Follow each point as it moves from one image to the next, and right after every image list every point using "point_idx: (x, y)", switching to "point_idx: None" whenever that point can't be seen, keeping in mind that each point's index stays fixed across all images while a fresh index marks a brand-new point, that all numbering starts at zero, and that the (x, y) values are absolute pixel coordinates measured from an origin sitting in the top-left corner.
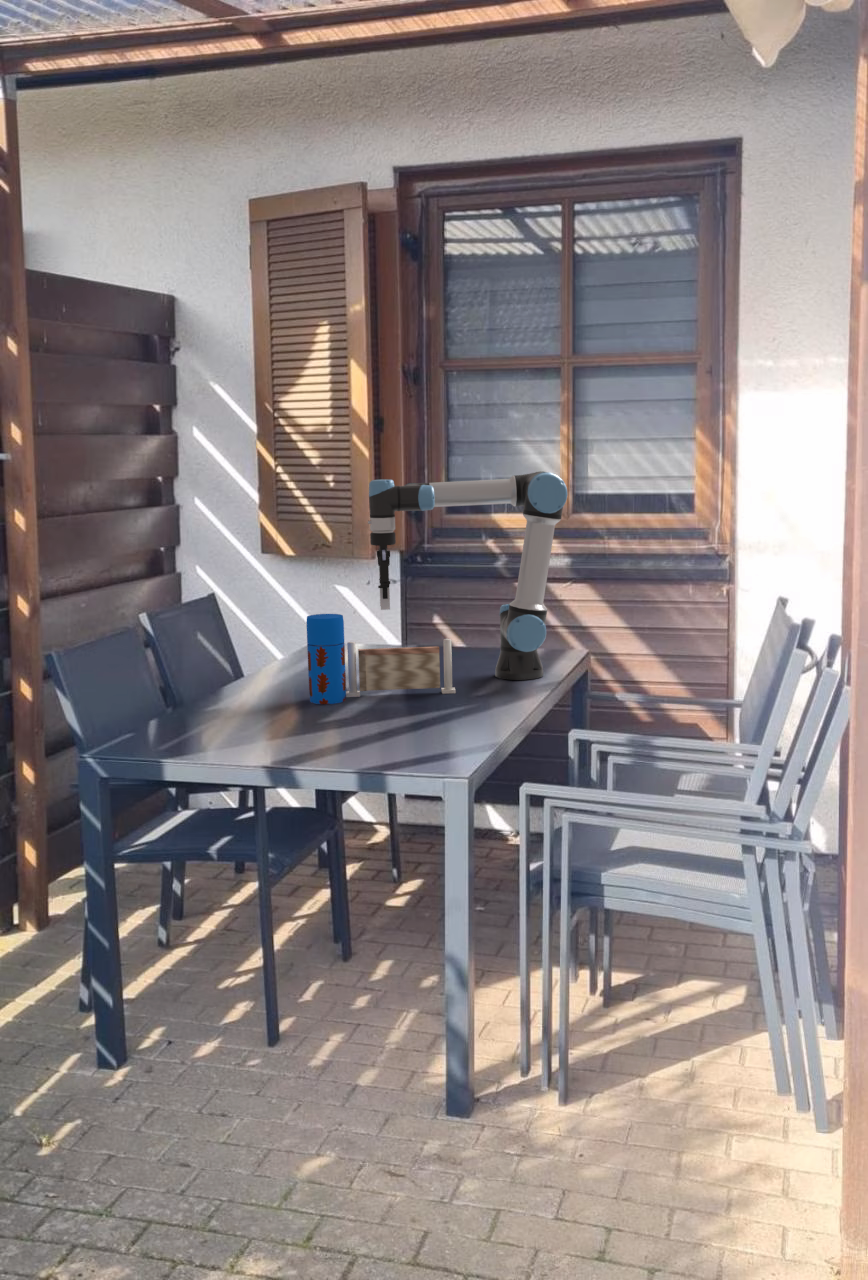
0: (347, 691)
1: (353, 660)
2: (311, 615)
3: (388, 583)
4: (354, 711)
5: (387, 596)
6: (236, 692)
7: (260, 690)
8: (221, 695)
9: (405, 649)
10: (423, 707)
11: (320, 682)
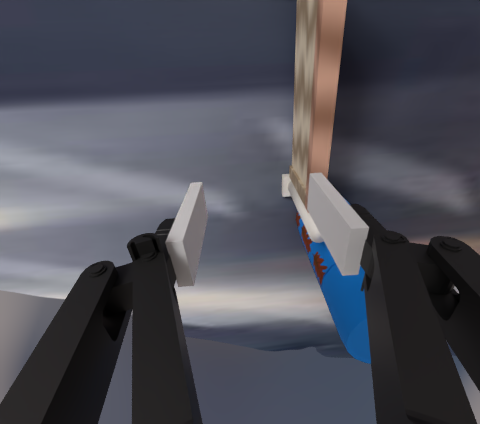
0: (284, 195)
1: None
2: (365, 359)
3: (472, 253)
4: (420, 172)
5: (365, 210)
6: (242, 313)
7: (233, 295)
8: (258, 322)
9: (336, 88)
10: (448, 38)
11: None
